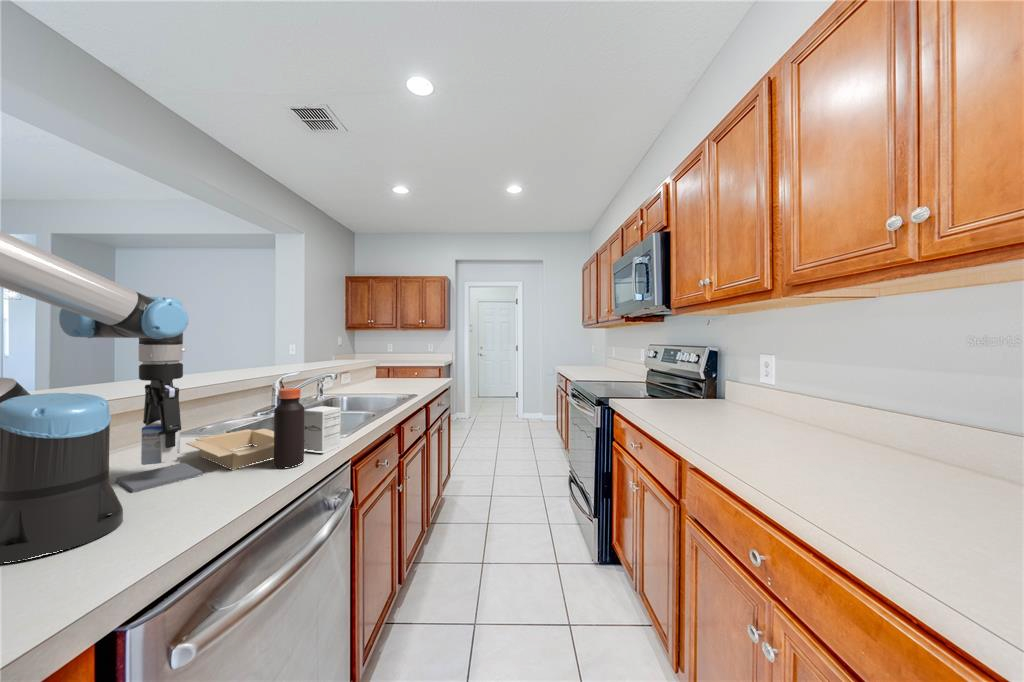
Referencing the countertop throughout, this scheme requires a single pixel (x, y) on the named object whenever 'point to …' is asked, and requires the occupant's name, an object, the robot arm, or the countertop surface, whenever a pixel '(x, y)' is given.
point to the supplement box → (321, 428)
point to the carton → (222, 443)
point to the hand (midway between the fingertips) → (161, 457)
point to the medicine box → (153, 443)
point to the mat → (157, 477)
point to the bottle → (288, 429)
